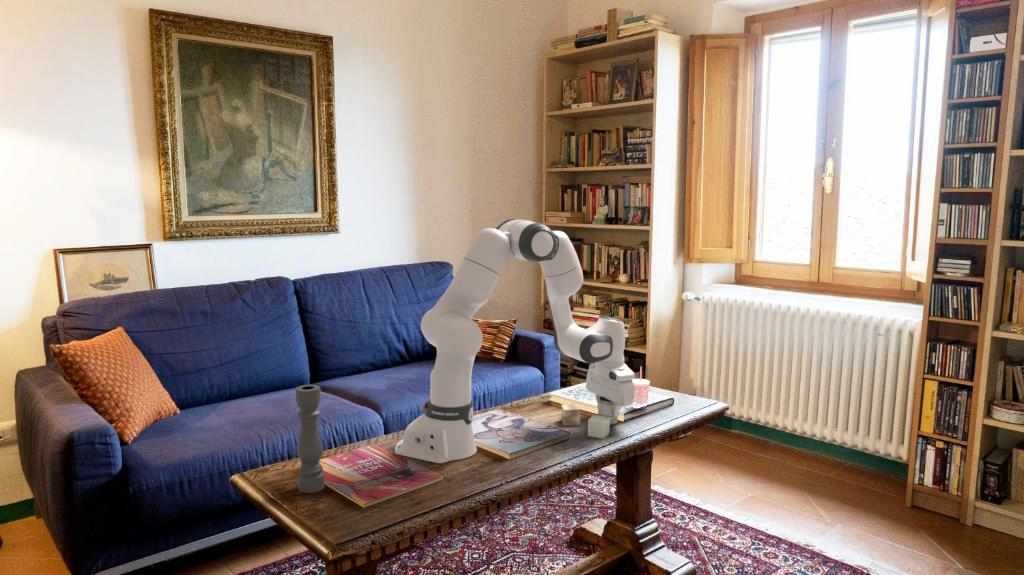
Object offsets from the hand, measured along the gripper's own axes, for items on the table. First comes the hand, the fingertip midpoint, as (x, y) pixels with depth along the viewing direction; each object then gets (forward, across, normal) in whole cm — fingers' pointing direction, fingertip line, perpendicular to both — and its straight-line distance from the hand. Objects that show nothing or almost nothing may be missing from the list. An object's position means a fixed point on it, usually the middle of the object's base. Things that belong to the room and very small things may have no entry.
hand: (608, 412), depth 224 cm
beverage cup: (+3, -6, +18) cm, 19 cm away
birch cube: (+3, -5, -11) cm, 12 cm away
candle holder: (+3, +5, -93) cm, 93 cm away
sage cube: (+3, +8, -9) cm, 12 cm away
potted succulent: (+3, 0, 0) cm, 3 cm away
